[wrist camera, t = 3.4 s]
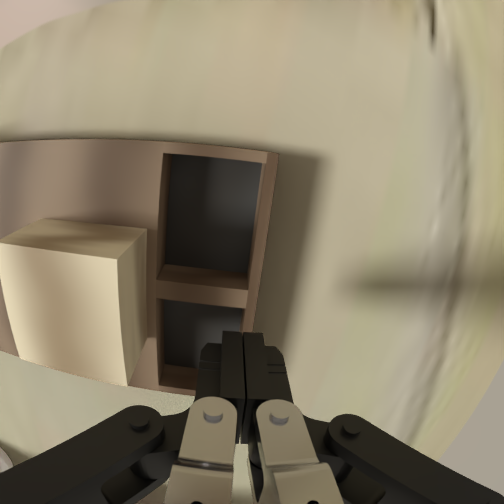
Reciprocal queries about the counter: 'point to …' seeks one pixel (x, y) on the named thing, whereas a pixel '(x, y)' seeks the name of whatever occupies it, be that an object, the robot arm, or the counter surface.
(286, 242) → the counter surface
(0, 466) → the decorative container
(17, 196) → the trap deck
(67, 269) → the maple block
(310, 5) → the counter surface
